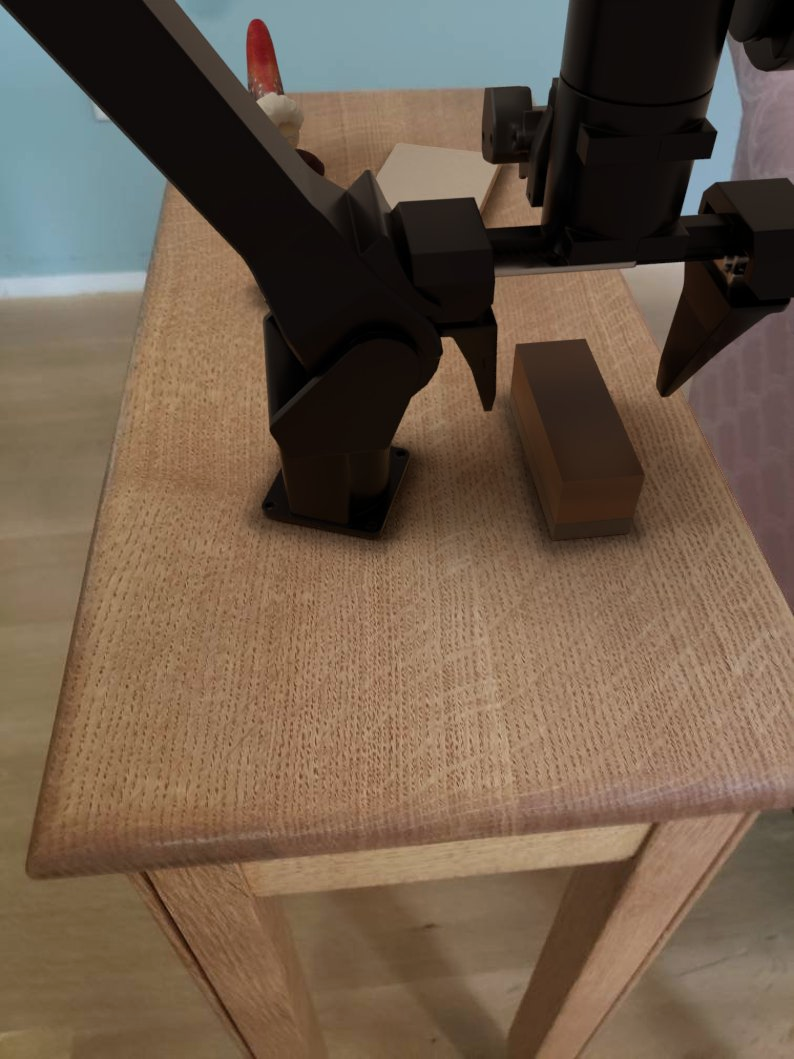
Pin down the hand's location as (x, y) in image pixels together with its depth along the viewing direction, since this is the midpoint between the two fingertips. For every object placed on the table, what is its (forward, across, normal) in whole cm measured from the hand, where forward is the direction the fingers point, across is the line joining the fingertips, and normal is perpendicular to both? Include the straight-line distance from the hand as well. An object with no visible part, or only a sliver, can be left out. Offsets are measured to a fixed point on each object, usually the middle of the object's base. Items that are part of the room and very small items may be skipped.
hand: (574, 398), depth 44 cm
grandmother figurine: (+5, +14, -20) cm, 25 cm away
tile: (+5, +3, -31) cm, 32 cm away
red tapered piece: (+5, +15, -35) cm, 38 cm away
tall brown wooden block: (+4, 0, 0) cm, 5 cm away
